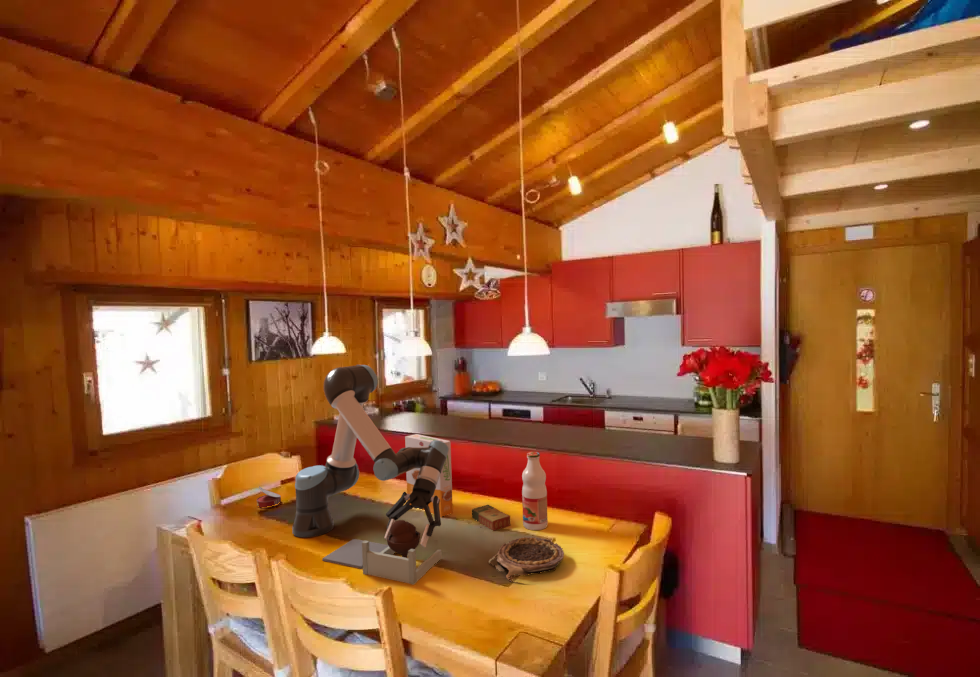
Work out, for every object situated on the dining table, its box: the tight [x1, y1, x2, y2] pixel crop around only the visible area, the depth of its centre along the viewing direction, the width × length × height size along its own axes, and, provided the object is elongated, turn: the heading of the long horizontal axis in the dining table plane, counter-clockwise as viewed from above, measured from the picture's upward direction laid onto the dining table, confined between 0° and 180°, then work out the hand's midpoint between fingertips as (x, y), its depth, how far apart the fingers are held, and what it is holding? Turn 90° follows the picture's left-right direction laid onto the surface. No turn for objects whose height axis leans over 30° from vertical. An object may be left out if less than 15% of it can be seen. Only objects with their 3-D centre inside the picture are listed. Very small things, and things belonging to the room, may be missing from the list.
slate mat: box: [322, 538, 388, 570], centre depth 169 cm, size 16×16×1 cm
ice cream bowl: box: [386, 519, 421, 558], centre depth 160 cm, size 11×11×15 cm
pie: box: [487, 536, 565, 585], centre depth 159 cm, size 28×27×5 cm
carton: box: [471, 504, 511, 532], centre depth 193 cm, size 8×16×4 cm, turn 33°
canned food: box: [256, 486, 282, 507], centre depth 221 cm, size 11×10×10 cm
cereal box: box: [404, 433, 454, 518], centre depth 209 cm, size 22×6×30 cm, turn 47°
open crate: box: [362, 540, 443, 586], centre depth 159 cm, size 19×17×10 cm
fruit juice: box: [521, 451, 549, 531], centre depth 188 cm, size 9×9×28 cm
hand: (404, 542), depth 159 cm, fingers open, 13 cm apart
